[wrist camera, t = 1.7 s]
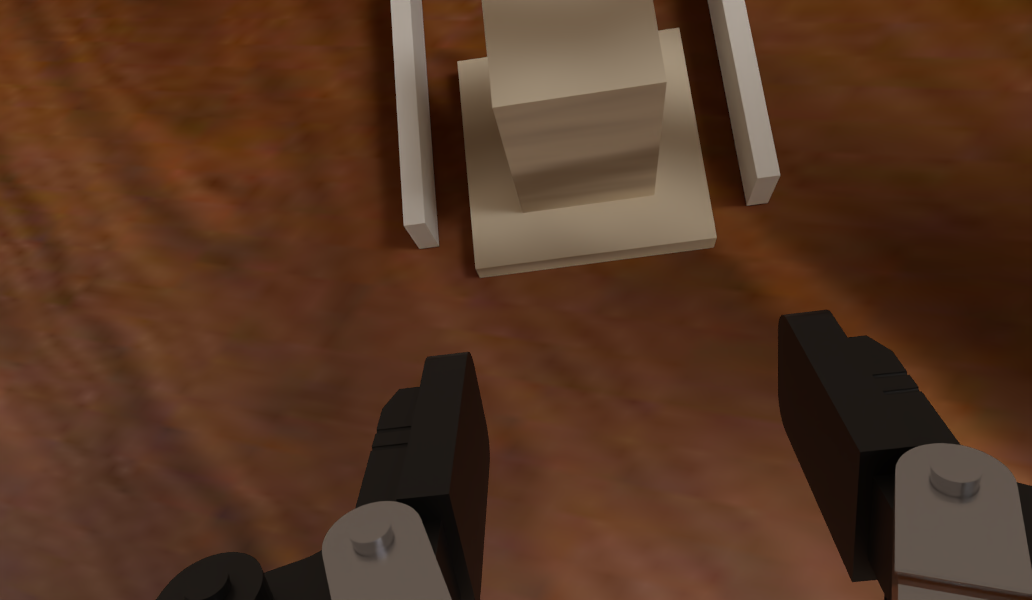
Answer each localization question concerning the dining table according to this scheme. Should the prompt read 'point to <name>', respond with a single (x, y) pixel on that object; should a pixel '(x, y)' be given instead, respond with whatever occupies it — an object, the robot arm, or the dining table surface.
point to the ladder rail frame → (416, 129)
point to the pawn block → (580, 138)
